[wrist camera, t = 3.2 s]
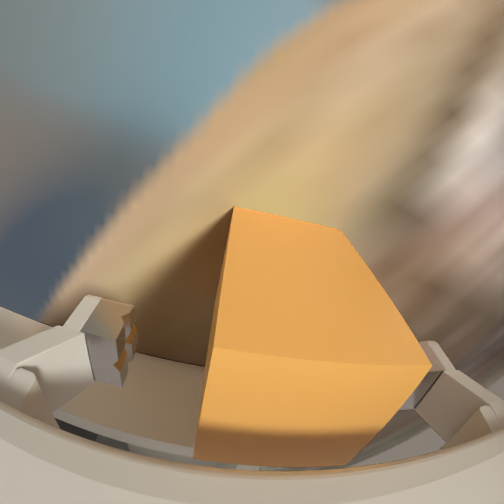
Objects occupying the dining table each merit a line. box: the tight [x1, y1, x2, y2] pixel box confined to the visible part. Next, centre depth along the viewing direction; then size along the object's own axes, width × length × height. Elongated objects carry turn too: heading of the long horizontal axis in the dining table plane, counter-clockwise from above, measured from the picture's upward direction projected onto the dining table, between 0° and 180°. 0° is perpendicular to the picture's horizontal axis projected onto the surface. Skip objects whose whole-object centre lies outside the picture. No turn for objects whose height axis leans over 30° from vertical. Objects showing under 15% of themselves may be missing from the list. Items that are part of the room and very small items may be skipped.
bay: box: [0, 307, 261, 471], centre depth 13 cm, size 18×14×7 cm
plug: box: [193, 207, 432, 467], centre depth 8 cm, size 4×4×7 cm
